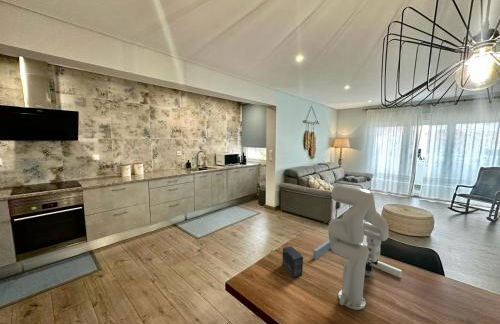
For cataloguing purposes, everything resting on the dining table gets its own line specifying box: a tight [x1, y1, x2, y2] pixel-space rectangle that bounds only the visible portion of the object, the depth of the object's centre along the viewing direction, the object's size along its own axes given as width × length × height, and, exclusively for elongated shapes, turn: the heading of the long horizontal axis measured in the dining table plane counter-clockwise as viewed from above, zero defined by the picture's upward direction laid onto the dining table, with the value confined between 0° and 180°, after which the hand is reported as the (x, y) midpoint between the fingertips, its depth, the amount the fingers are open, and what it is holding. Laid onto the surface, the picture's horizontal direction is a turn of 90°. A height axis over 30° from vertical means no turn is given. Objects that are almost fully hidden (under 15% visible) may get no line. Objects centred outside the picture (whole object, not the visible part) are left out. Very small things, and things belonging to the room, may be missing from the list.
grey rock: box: [364, 261, 374, 277], centre depth 131 cm, size 14×10×10 cm
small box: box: [281, 245, 304, 278], centre depth 131 cm, size 13×7×12 cm, turn 22°
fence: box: [312, 239, 403, 278], centre depth 135 cm, size 23×45×6 cm, turn 42°
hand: (371, 267), depth 126 cm, fingers open, 9 cm apart
